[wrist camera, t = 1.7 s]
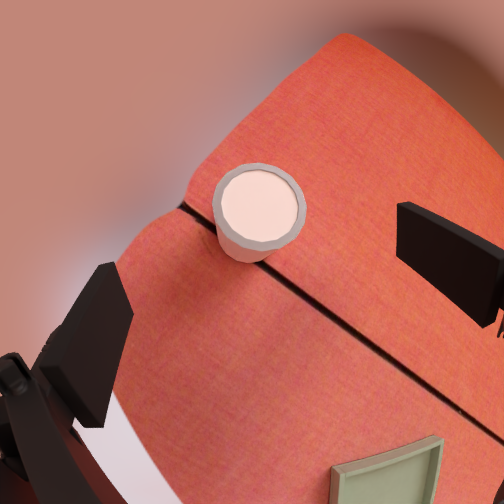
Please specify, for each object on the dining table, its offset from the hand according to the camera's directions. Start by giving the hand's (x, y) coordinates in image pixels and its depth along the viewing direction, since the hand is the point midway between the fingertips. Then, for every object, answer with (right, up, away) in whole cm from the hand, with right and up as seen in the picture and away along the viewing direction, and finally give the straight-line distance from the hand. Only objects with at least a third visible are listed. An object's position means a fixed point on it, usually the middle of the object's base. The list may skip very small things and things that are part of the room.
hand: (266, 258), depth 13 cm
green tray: (+14, -26, +10) cm, 31 cm away
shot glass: (-1, +2, +15) cm, 16 cm away
